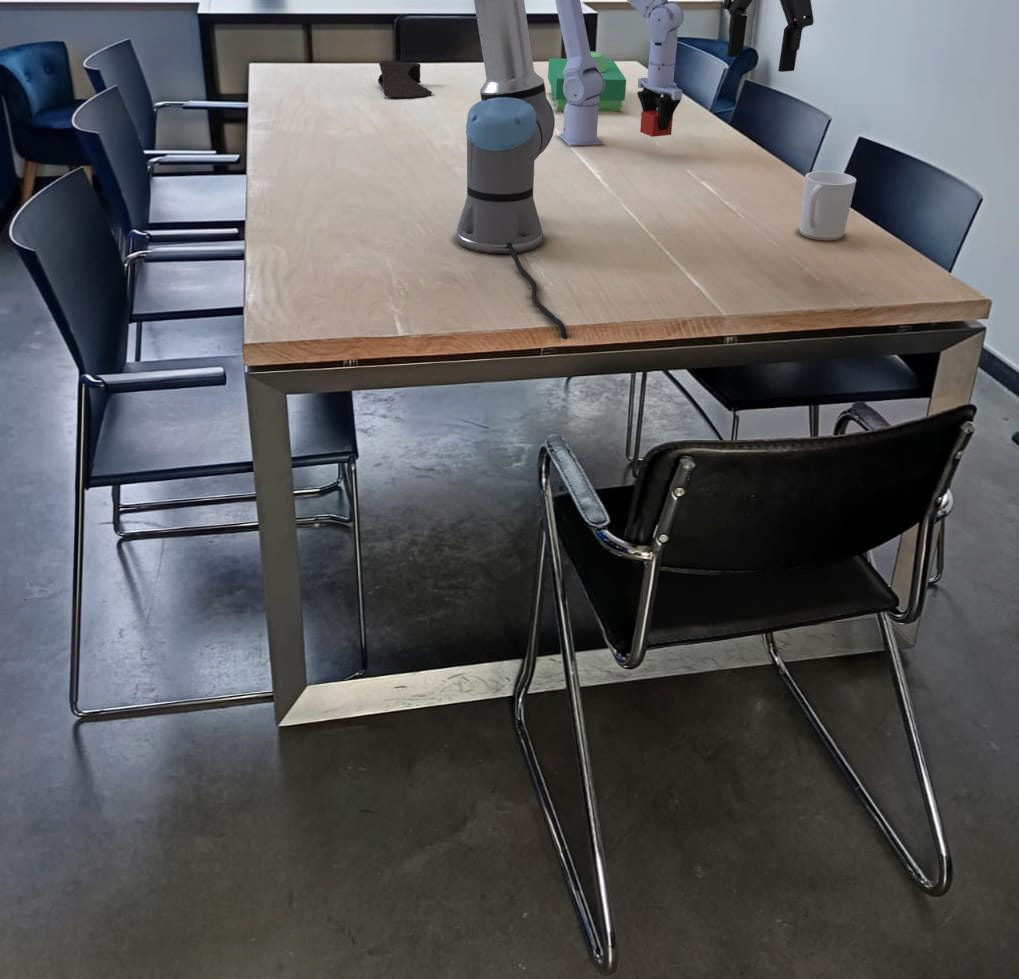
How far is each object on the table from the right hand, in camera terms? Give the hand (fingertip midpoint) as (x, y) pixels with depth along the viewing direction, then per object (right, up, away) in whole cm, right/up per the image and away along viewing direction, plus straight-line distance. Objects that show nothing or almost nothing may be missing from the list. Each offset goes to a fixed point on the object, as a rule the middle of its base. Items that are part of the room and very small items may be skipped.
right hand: (656, 127), depth 246 cm
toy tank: (-13, +24, +50) cm, 57 cm away
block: (0, -1, +1) cm, 1 cm away
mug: (+24, -35, -44) cm, 61 cm away
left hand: (+9, -10, -62) cm, 64 cm away
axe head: (-62, +28, +54) cm, 87 cm away
